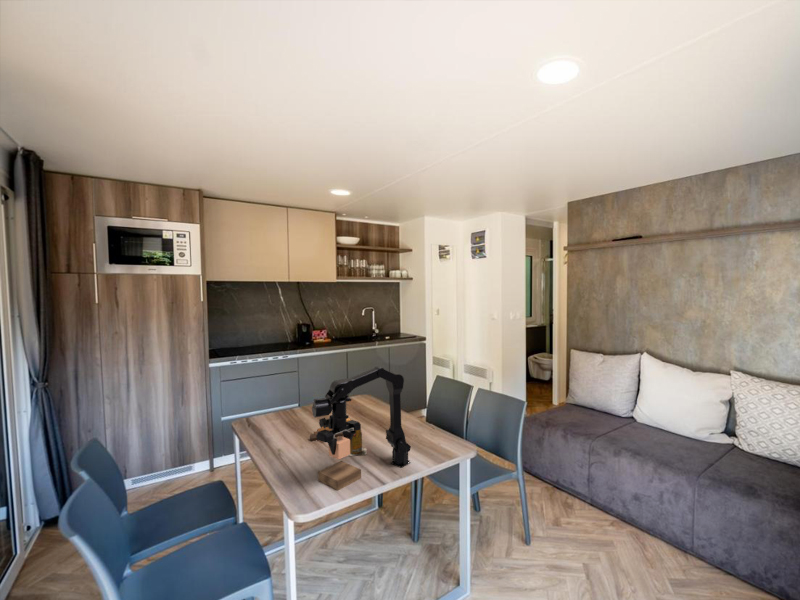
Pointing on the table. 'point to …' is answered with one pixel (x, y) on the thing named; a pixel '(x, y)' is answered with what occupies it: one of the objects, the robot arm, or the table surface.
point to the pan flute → (313, 437)
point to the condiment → (357, 444)
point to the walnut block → (339, 475)
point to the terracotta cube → (341, 448)
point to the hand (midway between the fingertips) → (339, 451)
